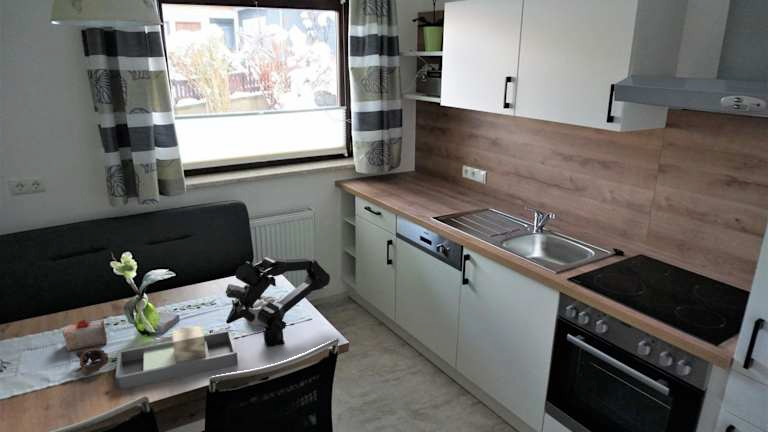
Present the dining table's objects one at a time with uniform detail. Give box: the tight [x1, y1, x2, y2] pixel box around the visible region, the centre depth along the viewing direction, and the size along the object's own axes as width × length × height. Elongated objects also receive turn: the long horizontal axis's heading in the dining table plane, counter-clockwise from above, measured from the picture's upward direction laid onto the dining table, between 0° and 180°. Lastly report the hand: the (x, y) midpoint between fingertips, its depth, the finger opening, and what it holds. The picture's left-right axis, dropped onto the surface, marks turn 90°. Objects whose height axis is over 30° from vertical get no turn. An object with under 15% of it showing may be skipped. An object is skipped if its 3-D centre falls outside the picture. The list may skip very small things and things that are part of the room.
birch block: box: [171, 324, 206, 363], centre depth 180 cm, size 10×8×8 cm
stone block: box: [156, 311, 180, 334], centre depth 205 cm, size 12×5×10 cm
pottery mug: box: [76, 347, 109, 376], centre depth 177 cm, size 12×10×8 cm
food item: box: [62, 318, 108, 352], centre depth 190 cm, size 14×8×10 cm, turn 115°
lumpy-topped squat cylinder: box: [248, 294, 280, 326], centre depth 211 cm, size 10×13×9 cm
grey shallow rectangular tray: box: [115, 329, 239, 391], centre depth 180 cm, size 38×17×4 cm, turn 114°
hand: (227, 322), depth 183 cm, fingers closed
